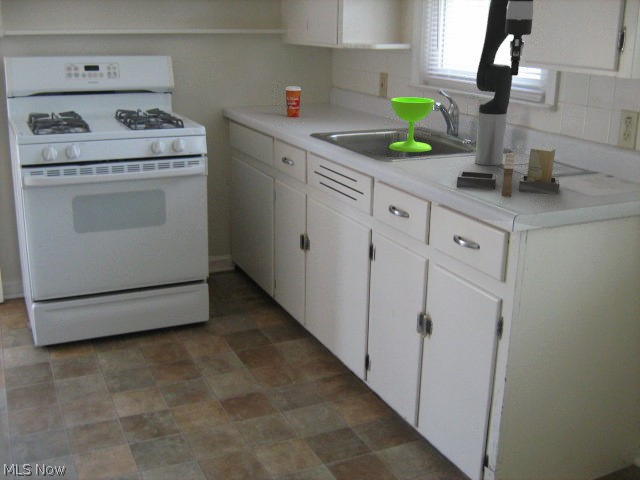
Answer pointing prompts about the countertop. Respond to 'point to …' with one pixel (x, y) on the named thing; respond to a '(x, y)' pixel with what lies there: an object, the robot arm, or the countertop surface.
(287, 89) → the paper cup
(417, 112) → the wineglass
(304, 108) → the countertop surface
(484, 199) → the countertop surface
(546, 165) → the skincare box
